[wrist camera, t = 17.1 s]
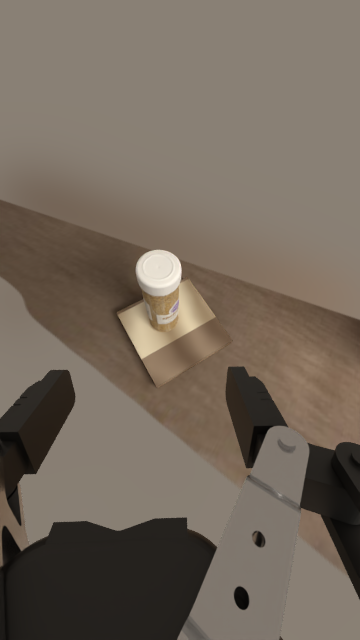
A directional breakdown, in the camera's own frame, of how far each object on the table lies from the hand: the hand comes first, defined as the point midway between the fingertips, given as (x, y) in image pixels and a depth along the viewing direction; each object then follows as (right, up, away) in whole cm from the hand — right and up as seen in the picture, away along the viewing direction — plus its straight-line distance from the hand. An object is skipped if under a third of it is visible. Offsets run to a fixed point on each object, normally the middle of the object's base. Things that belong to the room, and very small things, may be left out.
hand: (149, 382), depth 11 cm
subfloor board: (+1, +2, +23) cm, 24 cm away
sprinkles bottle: (-1, +3, +23) cm, 23 cm away
